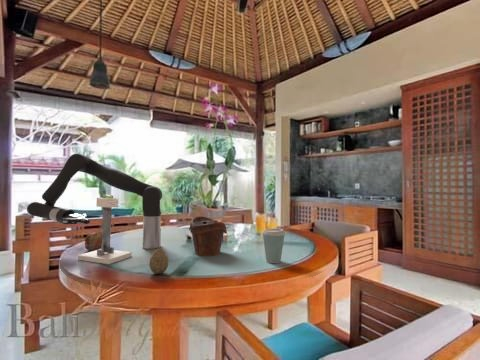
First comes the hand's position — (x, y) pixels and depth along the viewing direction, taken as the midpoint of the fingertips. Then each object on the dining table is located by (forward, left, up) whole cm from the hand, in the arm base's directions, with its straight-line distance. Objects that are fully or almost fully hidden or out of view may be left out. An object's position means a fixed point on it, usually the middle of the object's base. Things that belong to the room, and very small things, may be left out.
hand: (88, 221), depth 135 cm
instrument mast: (-10, +6, -14) cm, 18 cm away
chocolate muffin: (-58, +1, -16) cm, 60 cm away
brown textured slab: (+1, -14, -16) cm, 21 cm away
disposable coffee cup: (-87, +20, -16) cm, 91 cm away
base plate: (-10, +6, -16) cm, 20 cm away
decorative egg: (-37, +32, -16) cm, 52 cm away
